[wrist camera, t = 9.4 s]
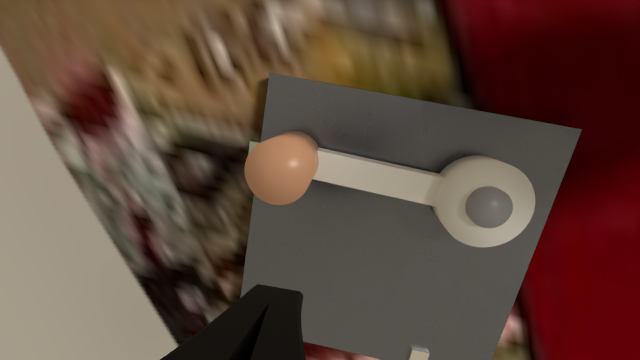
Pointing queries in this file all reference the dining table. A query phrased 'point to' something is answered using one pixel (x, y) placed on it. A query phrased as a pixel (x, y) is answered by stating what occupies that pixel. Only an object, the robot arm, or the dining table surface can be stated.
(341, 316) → the lock base
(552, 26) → the dining table surface
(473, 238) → the lever
